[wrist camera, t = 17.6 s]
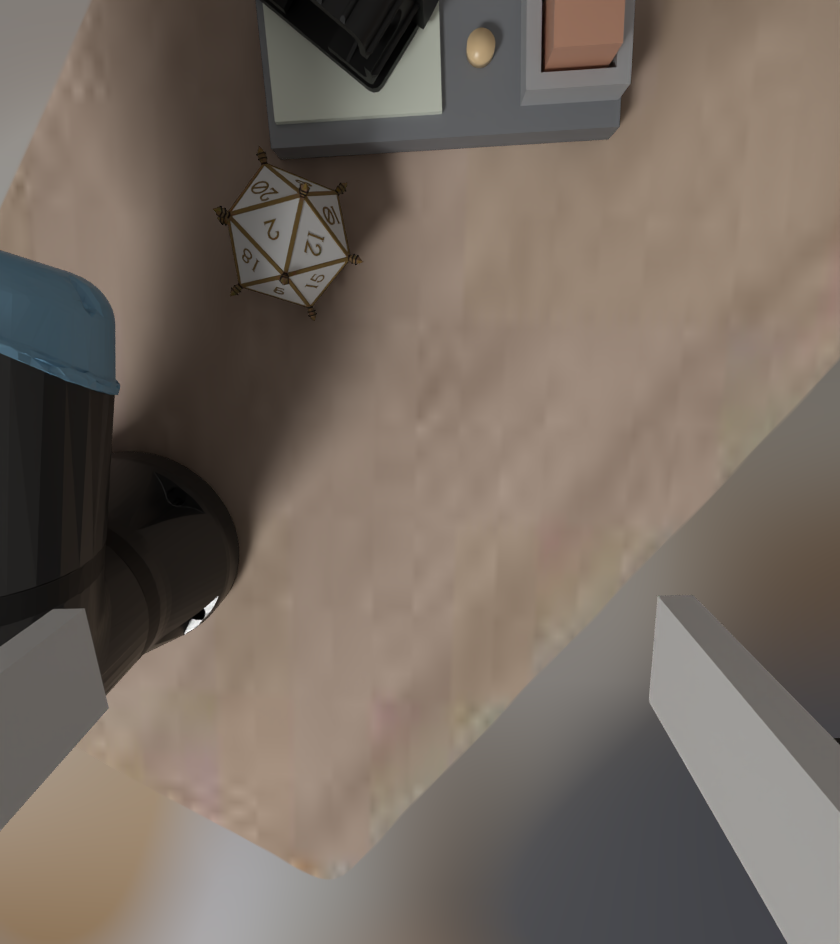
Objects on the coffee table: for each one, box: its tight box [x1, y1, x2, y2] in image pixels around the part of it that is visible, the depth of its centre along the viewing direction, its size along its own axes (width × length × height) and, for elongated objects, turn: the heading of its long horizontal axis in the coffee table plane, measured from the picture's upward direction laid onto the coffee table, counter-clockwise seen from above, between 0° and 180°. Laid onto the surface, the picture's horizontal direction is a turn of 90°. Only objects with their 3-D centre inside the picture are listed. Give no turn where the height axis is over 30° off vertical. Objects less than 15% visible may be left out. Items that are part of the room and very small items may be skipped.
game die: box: [213, 146, 363, 321], centre depth 31 cm, size 9×8×10 cm
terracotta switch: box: [541, 0, 625, 72], centre depth 27 cm, size 4×4×4 cm
